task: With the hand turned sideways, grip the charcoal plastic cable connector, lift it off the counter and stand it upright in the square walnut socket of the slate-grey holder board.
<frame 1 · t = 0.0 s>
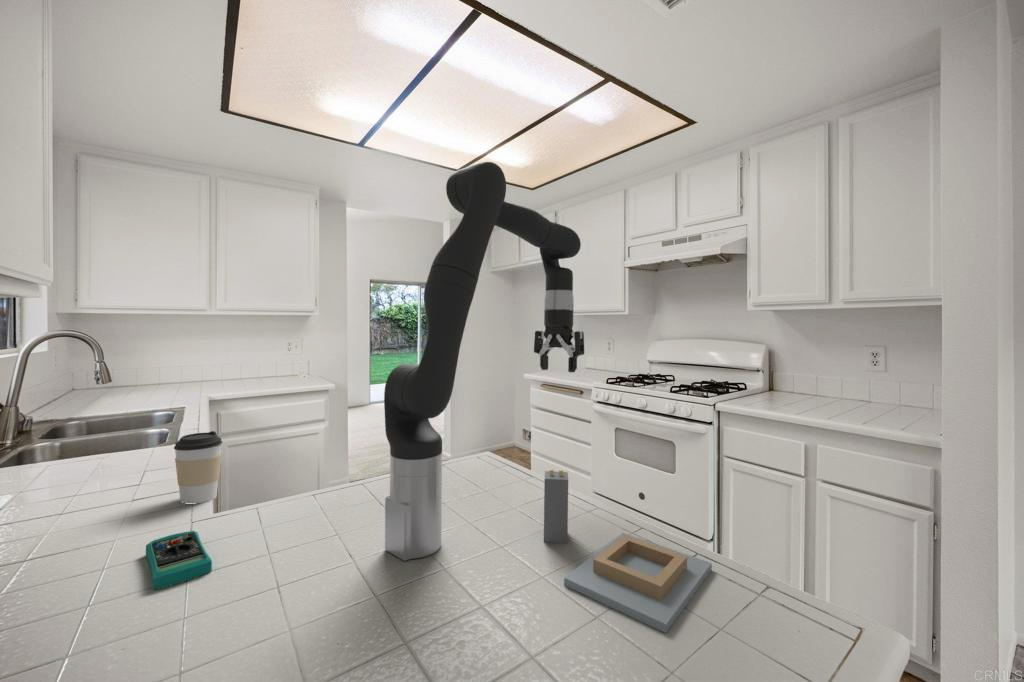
hand: (558, 370, 112), 29 cm above the countertop, tool pointing down, fingers open, 8 cm apart
digital multimeter: (177, 567, 72), on the countertop
connector: (555, 537, 82), on the countertop
holder: (640, 577, 69), on the countertop
coffee cup: (199, 499, 99), on the countertop
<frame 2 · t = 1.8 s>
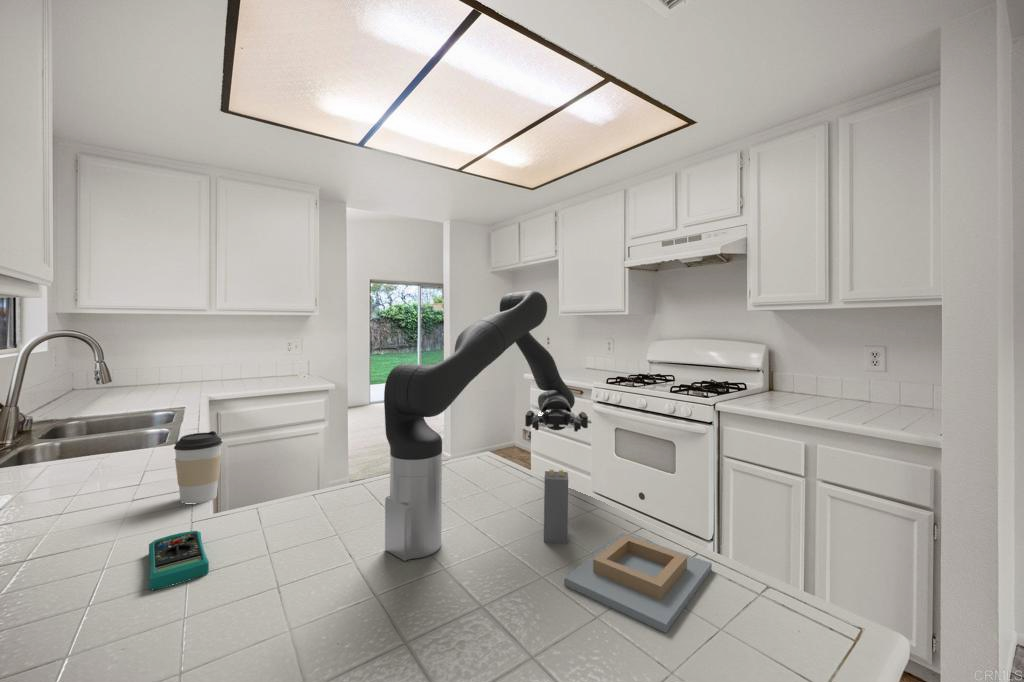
hand: (556, 426, 93), 19 cm above the countertop, tool horizontal, fingers open, 8 cm apart
nothing on the countertop moved.
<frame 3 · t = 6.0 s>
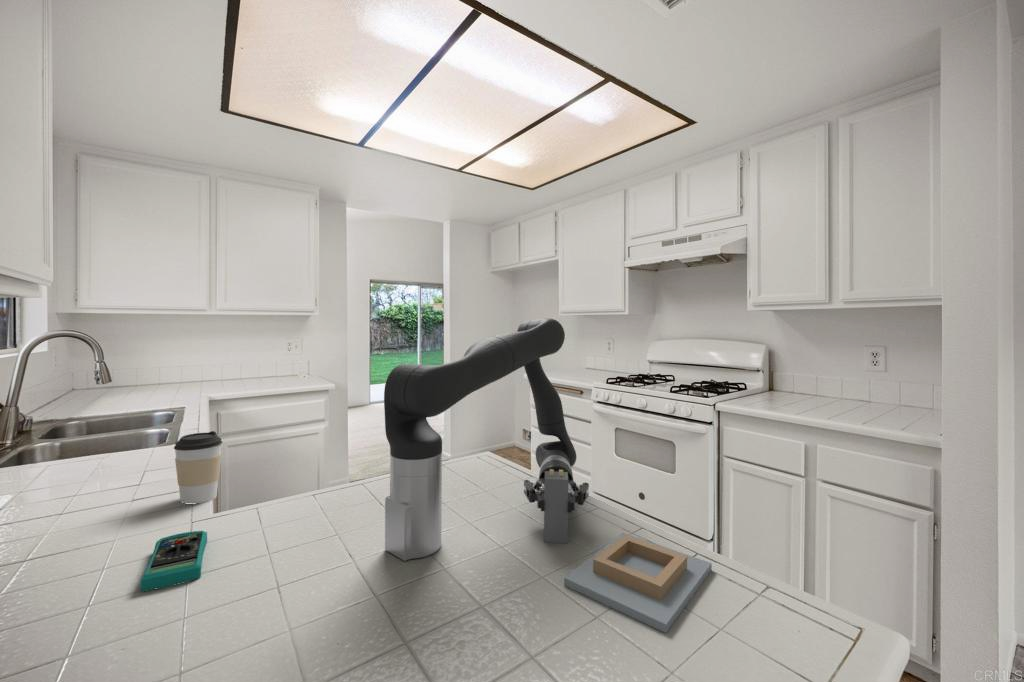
hand: (556, 506, 80), 7 cm above the countertop, tool horizontal, fingers closed on connector, 4 cm apart
connector: (555, 537, 82), on the countertop, touching gripper
when the fingers open (10 cm above the countertop, at t = 12.1 s): connector drops 1 cm, resting on holder.
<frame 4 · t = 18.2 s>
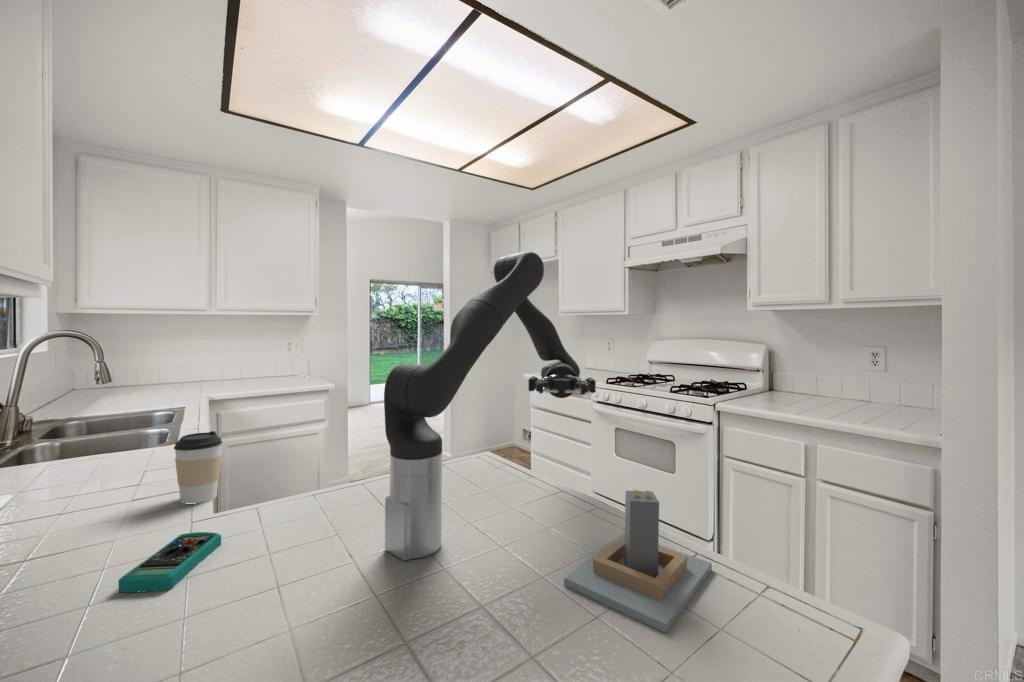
hand: (562, 388, 86), 28 cm above the countertop, tool horizontal, fingers open, 8 cm apart
connector: (640, 570, 69), point 1 cm above the countertop, touching holder
at the end: connector 0.0 cm off-centre on the holder, point 1.2 cm above the holder's base; connector tilted 0°; the gripper is holding nothing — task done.
